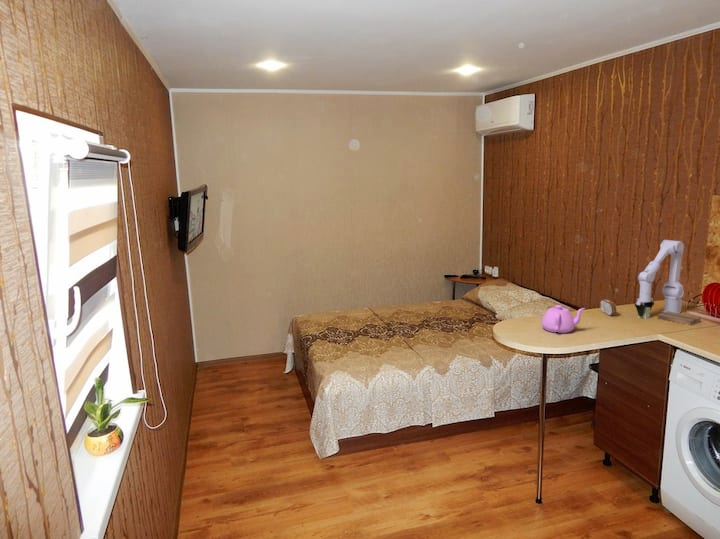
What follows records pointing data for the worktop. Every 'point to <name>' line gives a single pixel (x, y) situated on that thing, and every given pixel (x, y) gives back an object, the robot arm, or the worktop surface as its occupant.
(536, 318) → the worktop surface
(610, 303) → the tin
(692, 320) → the walnut slab
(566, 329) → the teapot
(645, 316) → the sage block
